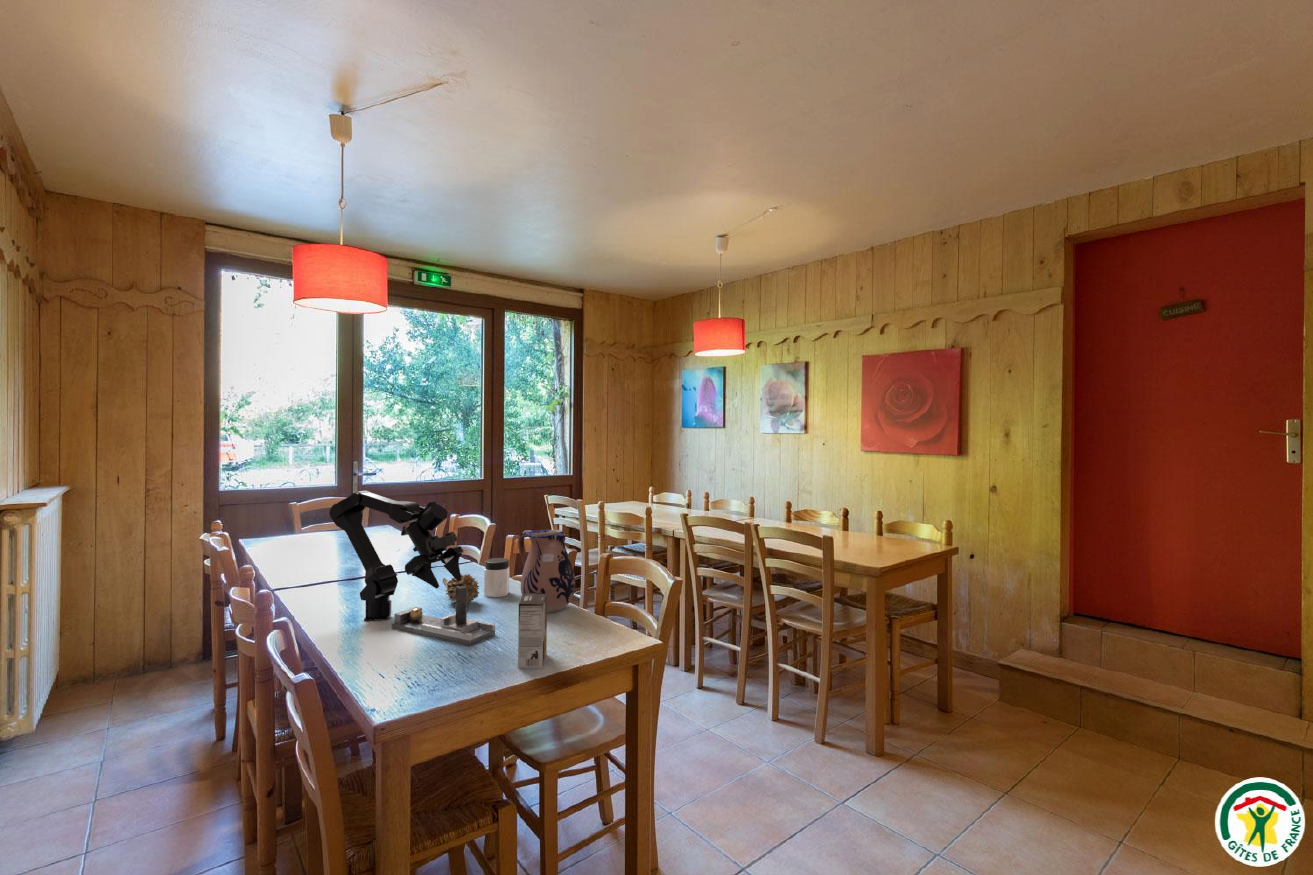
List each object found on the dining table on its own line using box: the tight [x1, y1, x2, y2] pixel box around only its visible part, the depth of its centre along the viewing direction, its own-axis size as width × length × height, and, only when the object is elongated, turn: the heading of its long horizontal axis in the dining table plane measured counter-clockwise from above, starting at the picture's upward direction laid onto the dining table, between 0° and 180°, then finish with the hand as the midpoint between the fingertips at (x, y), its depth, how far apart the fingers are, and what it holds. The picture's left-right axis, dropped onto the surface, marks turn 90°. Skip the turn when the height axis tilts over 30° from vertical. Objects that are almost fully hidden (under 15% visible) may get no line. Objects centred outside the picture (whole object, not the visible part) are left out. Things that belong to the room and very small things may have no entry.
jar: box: [483, 557, 510, 598], centre depth 215 cm, size 9×8×12 cm
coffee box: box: [517, 593, 548, 669], centre depth 154 cm, size 9×6×16 cm
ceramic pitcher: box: [517, 529, 576, 613], centre depth 199 cm, size 18×21×25 cm
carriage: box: [440, 586, 479, 633], centre depth 172 cm, size 7×7×12 cm
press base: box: [390, 606, 496, 647], centre depth 175 cm, size 30×10×5 cm, turn 64°
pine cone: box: [442, 573, 480, 603], centre depth 206 cm, size 22×10×10 cm, turn 49°
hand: (449, 583), depth 177 cm, fingers open, 9 cm apart
